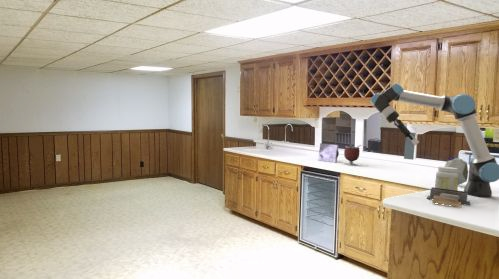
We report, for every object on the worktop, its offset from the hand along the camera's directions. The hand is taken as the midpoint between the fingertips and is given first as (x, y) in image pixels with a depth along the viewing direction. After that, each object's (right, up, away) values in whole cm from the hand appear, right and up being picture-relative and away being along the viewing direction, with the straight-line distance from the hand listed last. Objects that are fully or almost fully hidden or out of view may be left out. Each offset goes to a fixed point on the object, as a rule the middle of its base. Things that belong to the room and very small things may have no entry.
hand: (417, 143), depth 229 cm
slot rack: (+11, -32, -15) cm, 37 cm away
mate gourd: (-3, -22, +134) cm, 135 cm away
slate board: (-4, -9, +3) cm, 10 cm away
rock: (+46, -30, +45) cm, 72 cm away
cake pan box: (-22, -20, +152) cm, 155 cm away
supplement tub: (+18, -31, +2) cm, 36 cm away
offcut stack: (+4, -32, -26) cm, 41 cm away
